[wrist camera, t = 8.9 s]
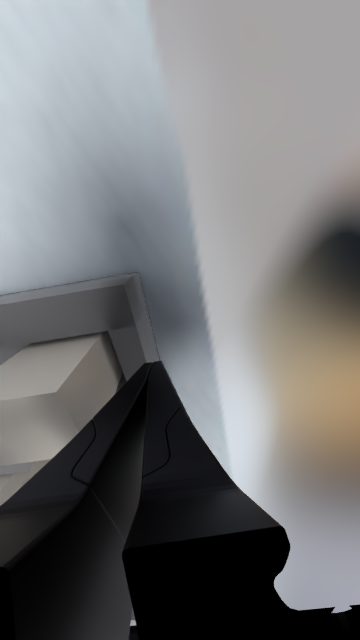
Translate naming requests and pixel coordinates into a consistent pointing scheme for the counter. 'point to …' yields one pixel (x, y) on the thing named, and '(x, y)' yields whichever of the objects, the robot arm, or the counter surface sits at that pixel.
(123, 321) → the switch bank
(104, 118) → the counter surface
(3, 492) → the tab
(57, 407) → the cream rectangular block
